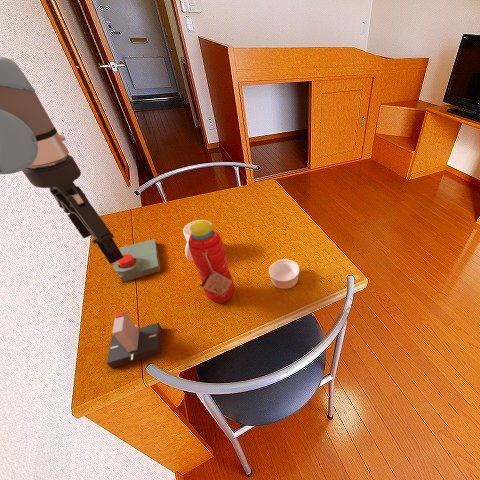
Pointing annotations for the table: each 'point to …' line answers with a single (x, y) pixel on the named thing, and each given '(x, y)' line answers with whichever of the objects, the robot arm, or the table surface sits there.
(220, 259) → the water bottle
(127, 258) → the button
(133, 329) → the knob
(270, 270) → the ramekin
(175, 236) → the table surface
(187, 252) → the mug
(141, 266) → the housing
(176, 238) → the table surface
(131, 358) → the panel
